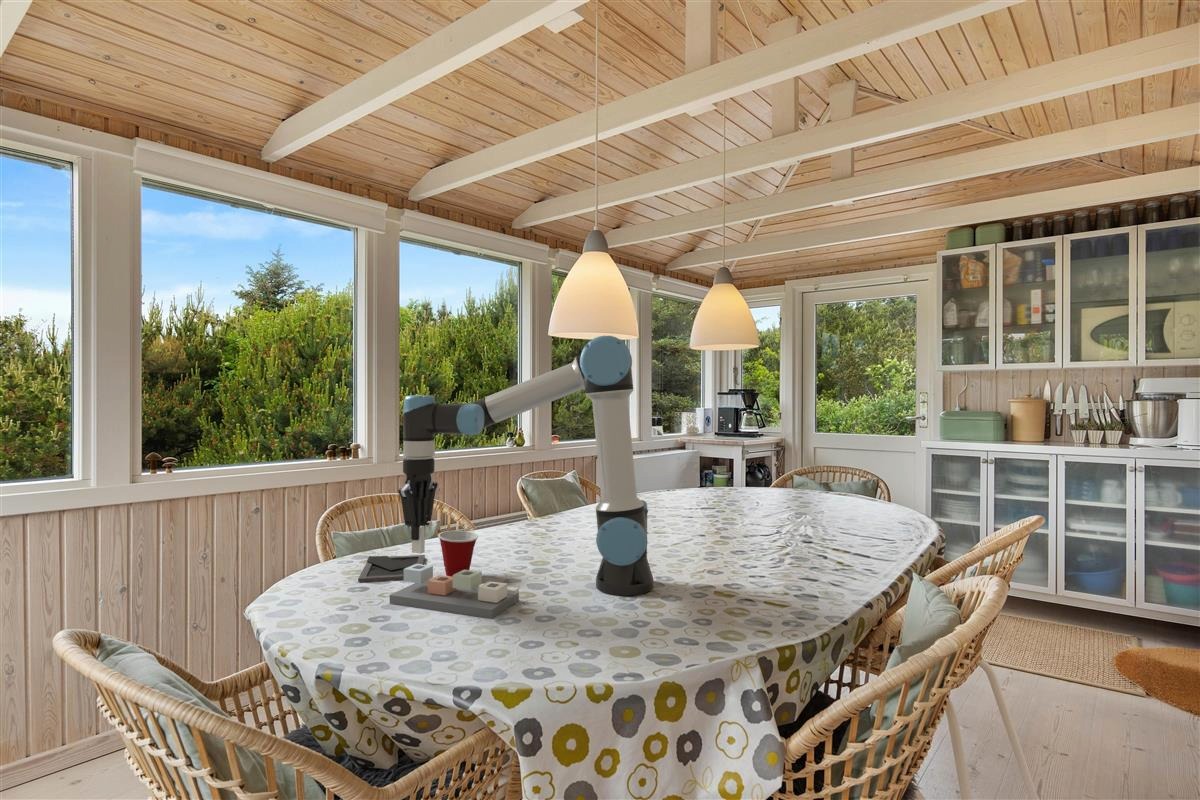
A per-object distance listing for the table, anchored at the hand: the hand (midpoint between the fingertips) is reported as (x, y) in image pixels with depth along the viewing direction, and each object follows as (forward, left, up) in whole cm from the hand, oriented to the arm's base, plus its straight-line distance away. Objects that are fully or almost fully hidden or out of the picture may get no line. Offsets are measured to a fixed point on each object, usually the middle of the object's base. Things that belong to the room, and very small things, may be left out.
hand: (418, 552), depth 153 cm
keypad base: (-11, 0, -11) cm, 15 cm away
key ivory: (-21, 0, -9) cm, 23 cm away
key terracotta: (-7, 0, -9) cm, 11 cm away
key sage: (-14, 0, -7) cm, 16 cm away
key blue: (0, 0, -7) cm, 7 cm away
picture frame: (+21, -17, -12) cm, 29 cm away
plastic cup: (-1, -17, -11) cm, 20 cm away
